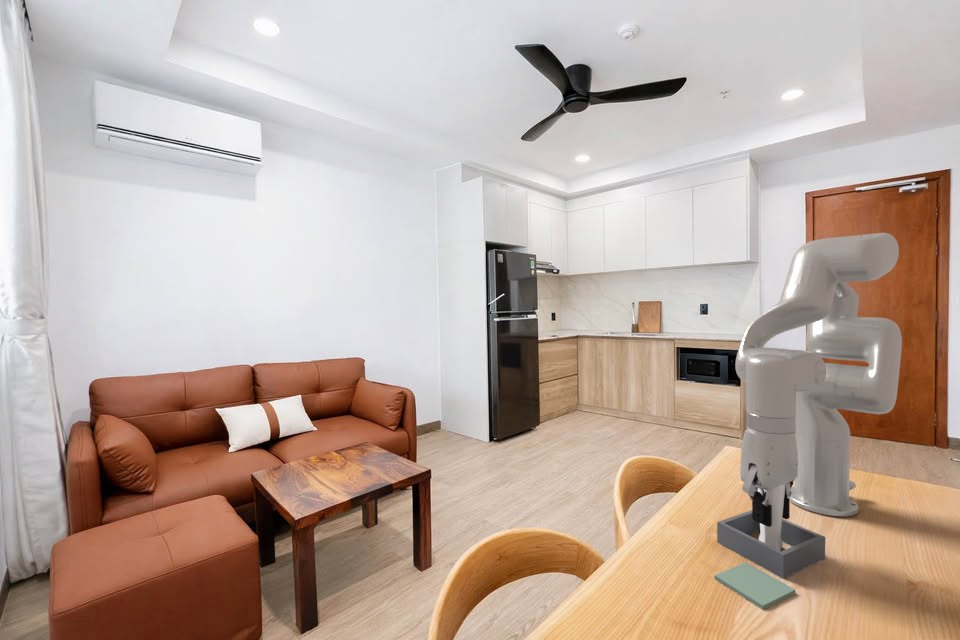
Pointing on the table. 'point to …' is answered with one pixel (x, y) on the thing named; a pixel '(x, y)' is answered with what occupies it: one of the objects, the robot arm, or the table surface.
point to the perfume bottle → (774, 518)
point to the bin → (781, 563)
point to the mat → (755, 585)
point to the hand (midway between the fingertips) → (770, 518)
